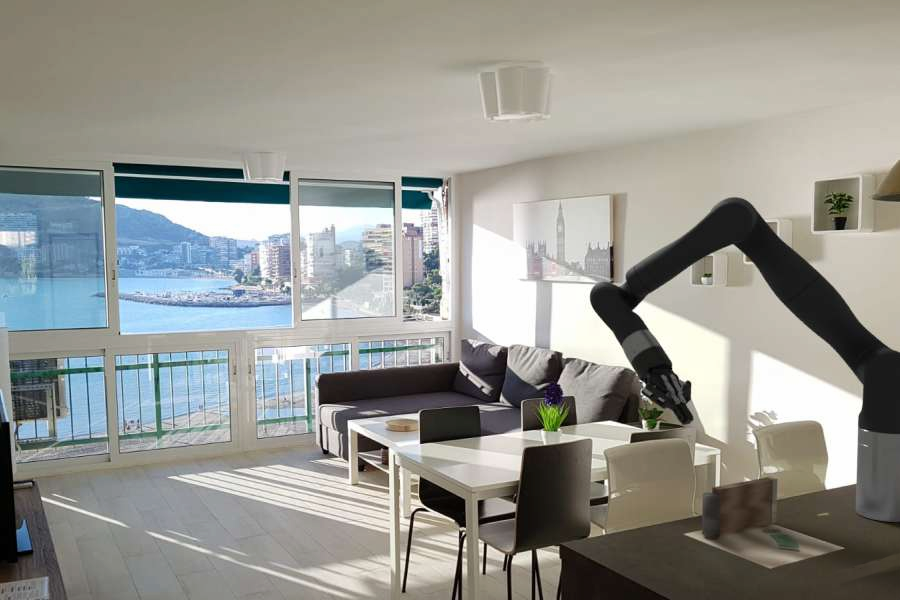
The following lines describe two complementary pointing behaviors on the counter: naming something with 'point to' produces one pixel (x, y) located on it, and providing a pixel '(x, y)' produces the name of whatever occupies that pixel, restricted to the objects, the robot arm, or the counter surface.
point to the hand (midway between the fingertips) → (688, 422)
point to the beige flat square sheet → (768, 545)
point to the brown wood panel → (739, 506)
